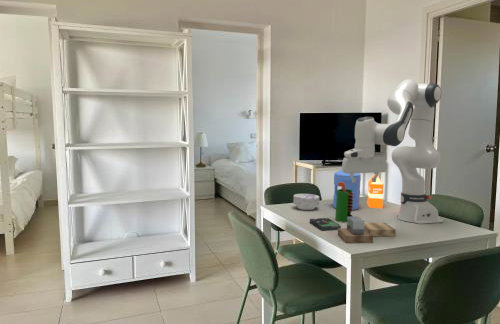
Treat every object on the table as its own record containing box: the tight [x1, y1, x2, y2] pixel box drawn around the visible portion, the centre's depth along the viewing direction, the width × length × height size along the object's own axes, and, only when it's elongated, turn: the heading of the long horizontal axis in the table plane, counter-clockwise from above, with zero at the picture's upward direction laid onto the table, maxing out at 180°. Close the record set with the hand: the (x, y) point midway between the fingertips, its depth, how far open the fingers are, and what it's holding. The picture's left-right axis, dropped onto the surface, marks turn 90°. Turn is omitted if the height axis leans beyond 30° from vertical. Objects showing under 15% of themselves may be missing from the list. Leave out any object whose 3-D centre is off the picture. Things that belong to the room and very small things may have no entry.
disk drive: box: [309, 217, 342, 232], centre depth 188 cm, size 10×3×15 cm
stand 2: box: [364, 222, 396, 237], centre depth 179 cm, size 12×12×3 cm
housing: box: [346, 216, 365, 235], centre depth 168 cm, size 5×8×6 cm, turn 3°
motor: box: [334, 182, 354, 223], centre depth 200 cm, size 10×9×20 cm
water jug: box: [332, 169, 362, 211], centre depth 228 cm, size 16×16×28 cm
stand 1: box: [337, 227, 374, 244], centre depth 169 cm, size 12×12×3 cm
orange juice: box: [366, 174, 384, 209], centre depth 233 cm, size 8×9×20 cm
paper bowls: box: [292, 193, 320, 211], centre depth 226 cm, size 15×15×8 cm
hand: (364, 182), depth 175 cm, fingers open, 8 cm apart
